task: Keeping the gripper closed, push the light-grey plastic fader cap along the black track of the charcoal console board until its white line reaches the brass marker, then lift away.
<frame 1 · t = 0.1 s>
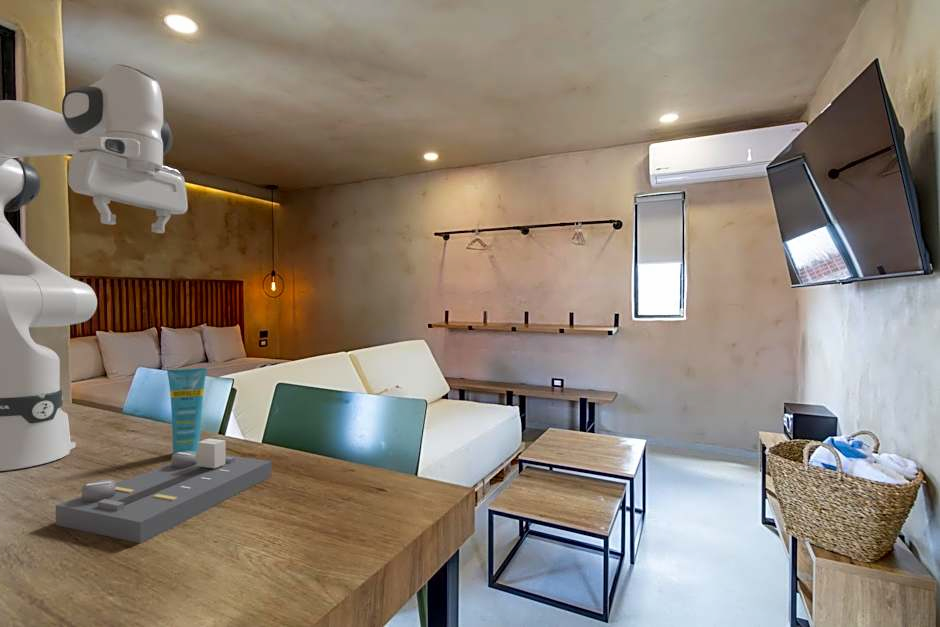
hand: (134, 228, 85), 48 cm above the table, fingers open, 8 cm apart
fader cap: (211, 452, 84), point 6 cm above the table, slide at 0.0 cm
tube: (186, 454, 99), on the table
console: (177, 497, 77), on the table
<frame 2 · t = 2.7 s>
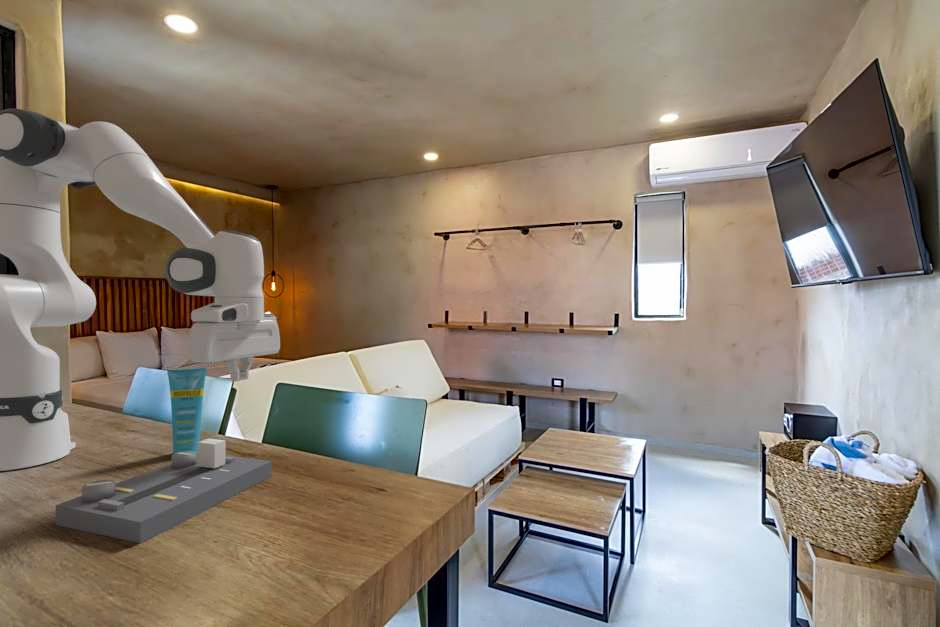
hand: (239, 380, 90), 18 cm above the table, fingers closed
nothing on the table moved.
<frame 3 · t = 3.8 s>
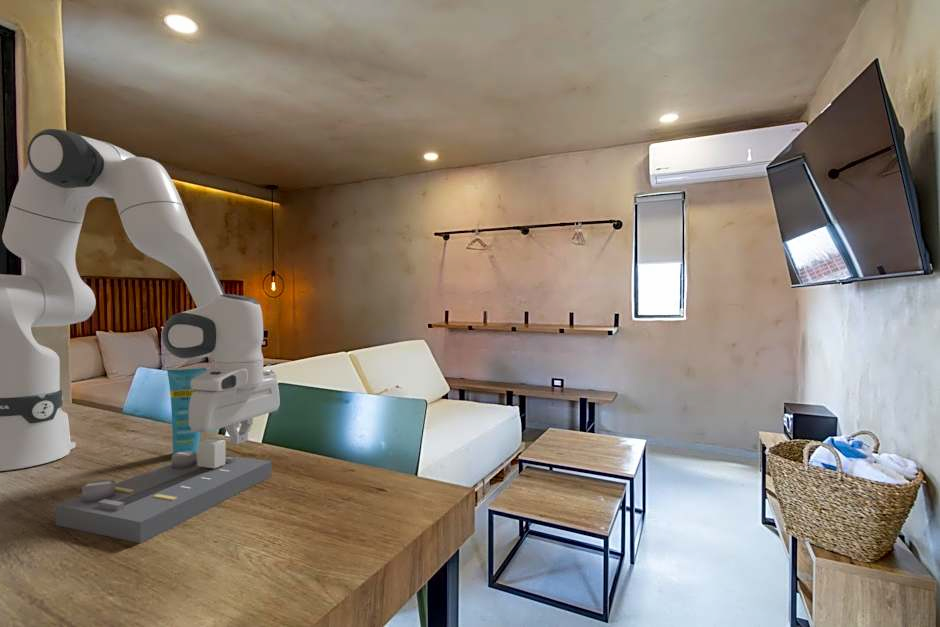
hand: (239, 442, 90), 6 cm above the table, fingers closed
nothing on the table moved.
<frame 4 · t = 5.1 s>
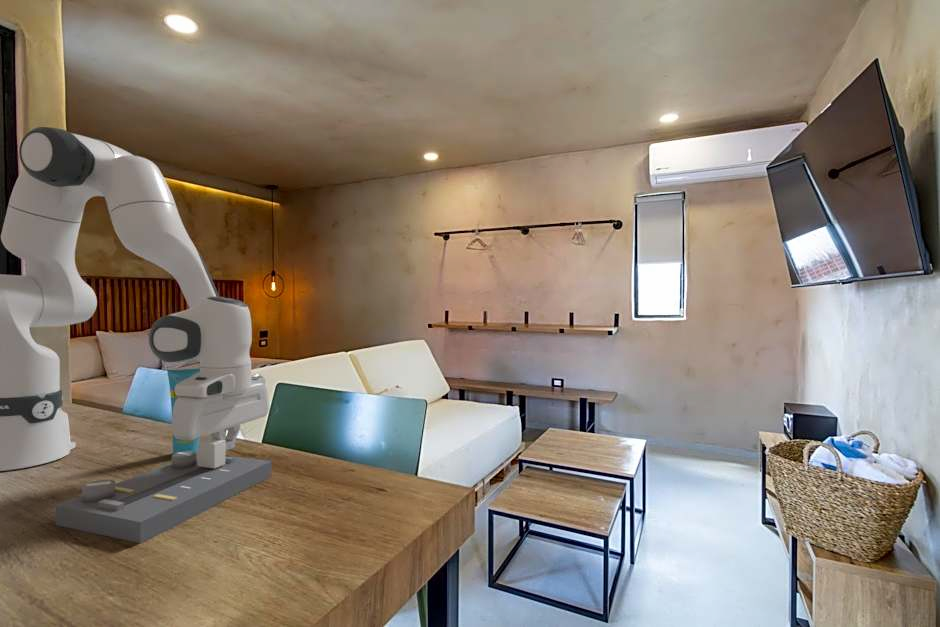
hand: (225, 450, 87), 5 cm above the table, fingers closed
fader cap: (211, 452, 84), point 6 cm above the table, slide at 0.0 cm, touching gripper
everything else where it was.
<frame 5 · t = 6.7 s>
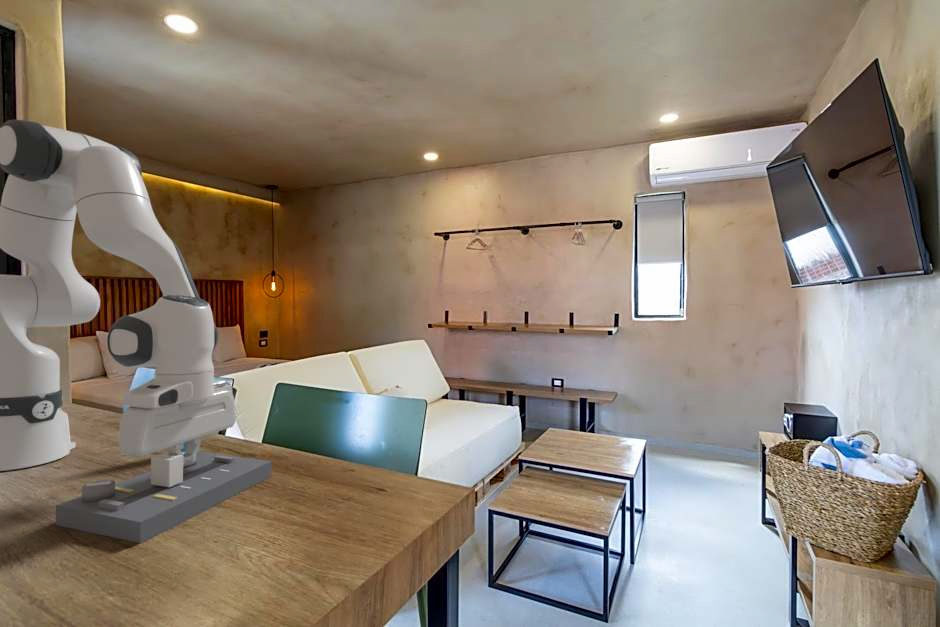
hand: (184, 465, 78), 5 cm above the table, fingers closed
fader cap: (167, 469, 75), point 6 cm above the table, slide at 9.0 cm, touching gripper
everything else where it was.
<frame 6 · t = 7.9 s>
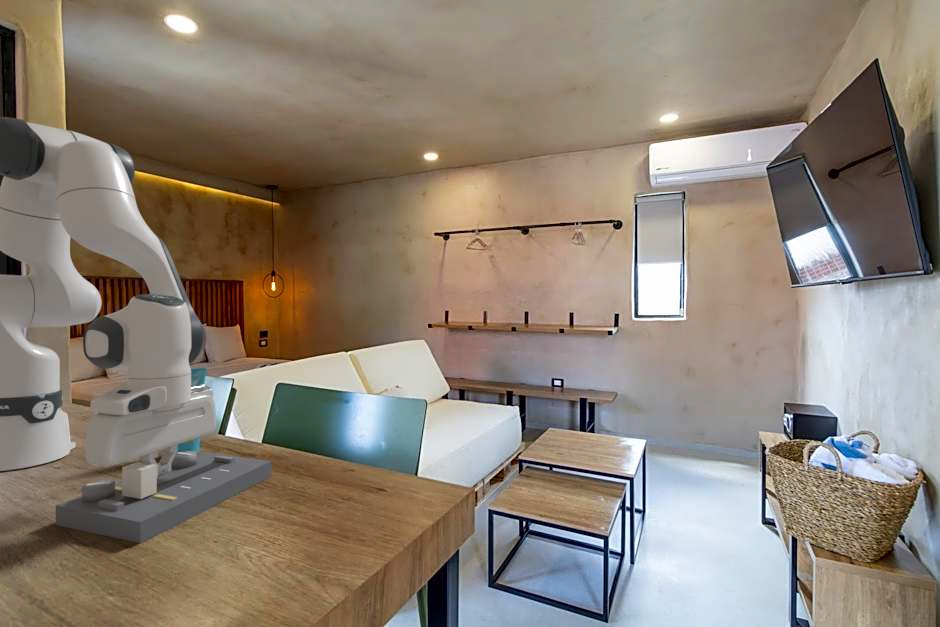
hand: (159, 475, 74), 5 cm above the table, fingers closed
fader cap: (139, 479, 71), point 6 cm above the table, slide at 13.7 cm, touching gripper
everything else where it was.
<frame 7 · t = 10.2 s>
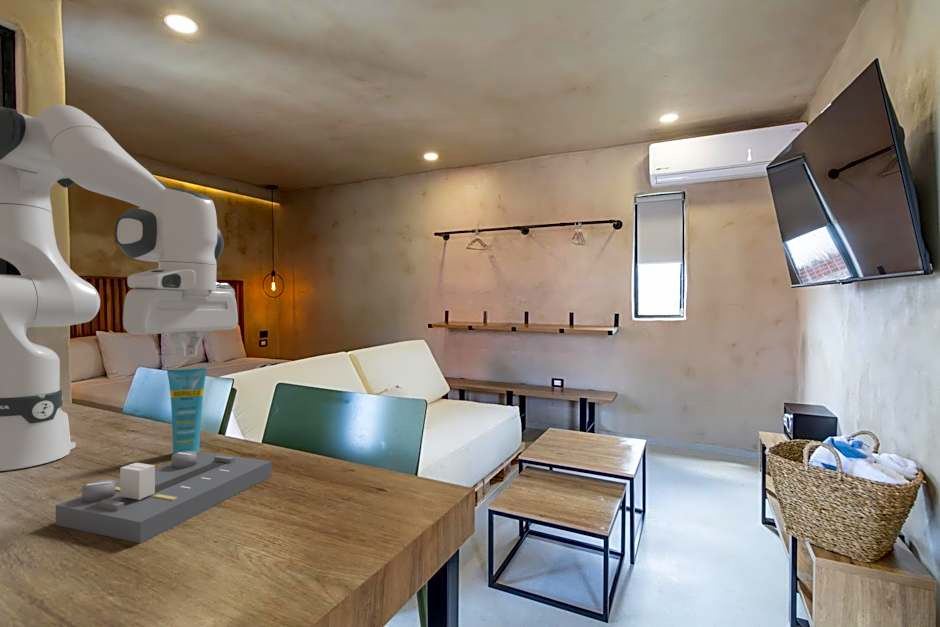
hand: (186, 356, 80), 24 cm above the table, fingers closed
fader cap: (137, 480, 70), point 6 cm above the table, slide at 14.0 cm
everything else where it was.
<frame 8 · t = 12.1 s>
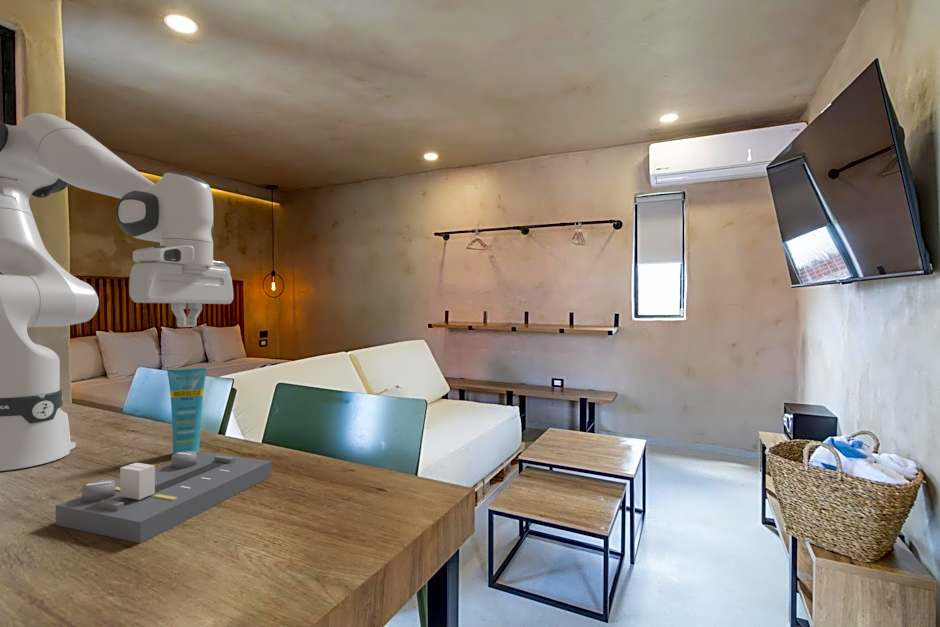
hand: (186, 326, 88), 29 cm above the table, fingers closed
nothing on the table moved.
at the end: fader cap slide at 14.0 cm; fader cap touching nothing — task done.
